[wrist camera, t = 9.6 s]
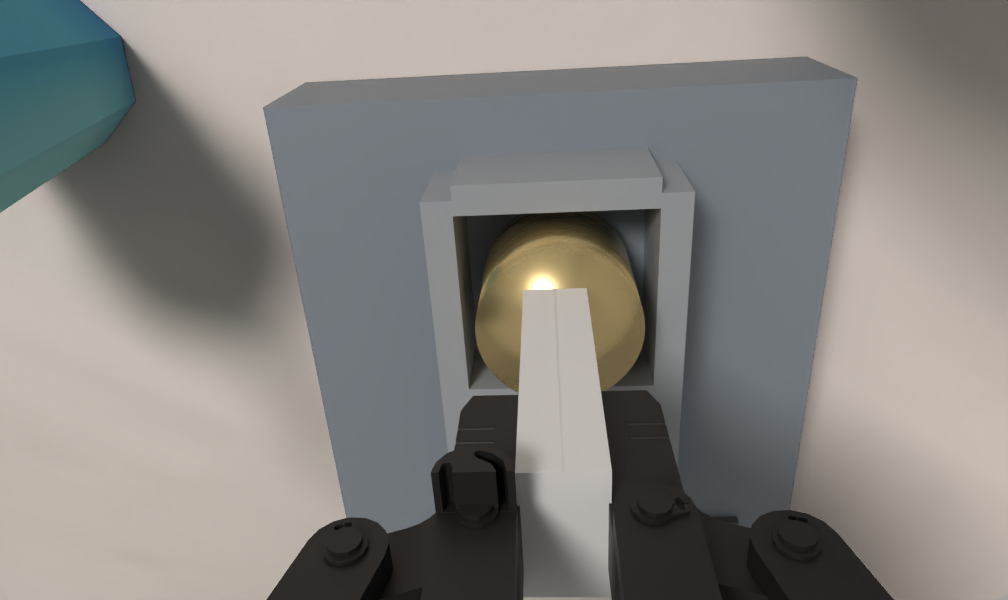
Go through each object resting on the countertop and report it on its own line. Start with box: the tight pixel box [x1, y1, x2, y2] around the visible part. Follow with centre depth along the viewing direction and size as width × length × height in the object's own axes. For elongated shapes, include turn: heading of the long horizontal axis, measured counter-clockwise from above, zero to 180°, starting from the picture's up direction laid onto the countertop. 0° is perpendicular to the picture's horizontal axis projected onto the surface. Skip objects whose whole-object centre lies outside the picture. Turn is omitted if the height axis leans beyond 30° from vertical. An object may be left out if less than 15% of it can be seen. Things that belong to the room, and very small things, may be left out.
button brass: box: [475, 211, 645, 393], centre depth 19 cm, size 4×4×4 cm
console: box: [263, 57, 857, 533], centre depth 26 cm, size 16×28×7 cm, turn 3°
